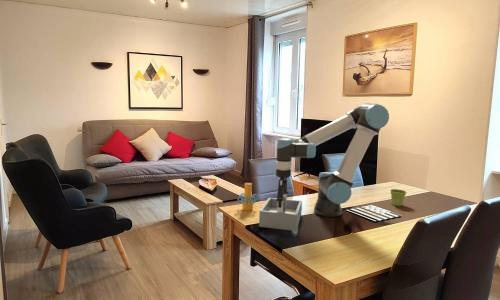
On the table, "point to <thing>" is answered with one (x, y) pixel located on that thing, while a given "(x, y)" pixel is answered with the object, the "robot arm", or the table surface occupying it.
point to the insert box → (280, 215)
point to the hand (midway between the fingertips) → (281, 209)
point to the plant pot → (397, 196)
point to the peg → (284, 204)
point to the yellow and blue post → (248, 198)
